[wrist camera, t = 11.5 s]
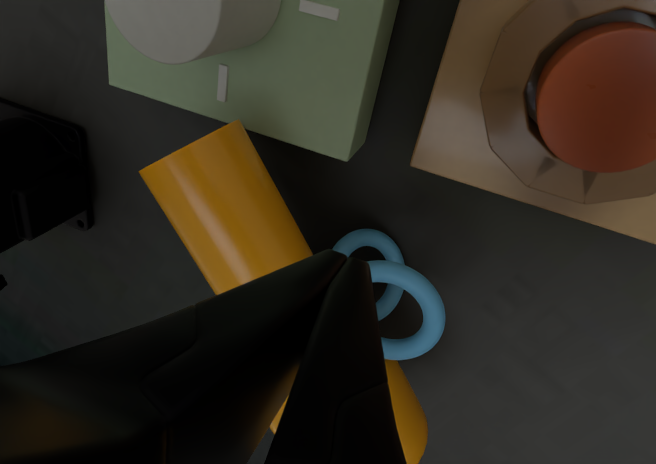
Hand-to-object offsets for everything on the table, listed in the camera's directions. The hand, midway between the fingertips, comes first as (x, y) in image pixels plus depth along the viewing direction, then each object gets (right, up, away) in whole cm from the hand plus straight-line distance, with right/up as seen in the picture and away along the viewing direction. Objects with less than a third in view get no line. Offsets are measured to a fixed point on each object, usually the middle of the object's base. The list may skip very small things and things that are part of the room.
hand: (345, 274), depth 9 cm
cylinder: (+2, -9, +12) cm, 15 cm away
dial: (-4, +9, +7) cm, 13 cm away
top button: (+7, +5, +4) cm, 10 cm away
